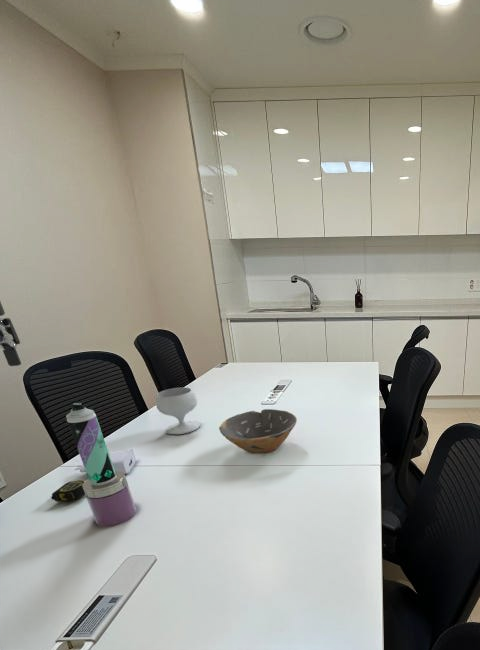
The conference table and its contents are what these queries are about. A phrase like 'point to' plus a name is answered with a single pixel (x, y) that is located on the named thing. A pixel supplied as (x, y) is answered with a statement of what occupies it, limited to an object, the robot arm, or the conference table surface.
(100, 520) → the jar
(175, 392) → the chalice
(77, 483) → the tape measure
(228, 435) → the bowl
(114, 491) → the jar lid
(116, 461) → the charger
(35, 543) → the conference table surface
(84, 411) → the spray can
